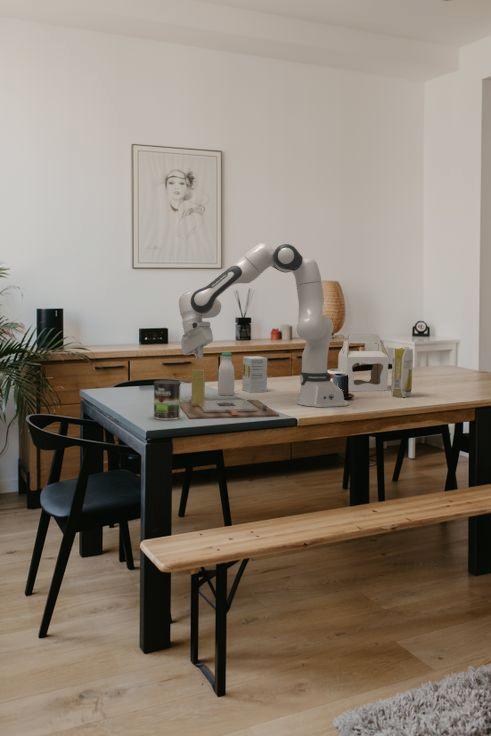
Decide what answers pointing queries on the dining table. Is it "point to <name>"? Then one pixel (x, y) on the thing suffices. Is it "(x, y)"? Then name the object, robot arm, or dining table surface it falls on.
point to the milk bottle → (226, 375)
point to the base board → (197, 413)
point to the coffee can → (167, 399)
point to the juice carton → (402, 372)
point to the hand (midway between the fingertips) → (200, 358)
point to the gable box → (368, 357)
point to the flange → (215, 405)
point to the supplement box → (254, 374)
